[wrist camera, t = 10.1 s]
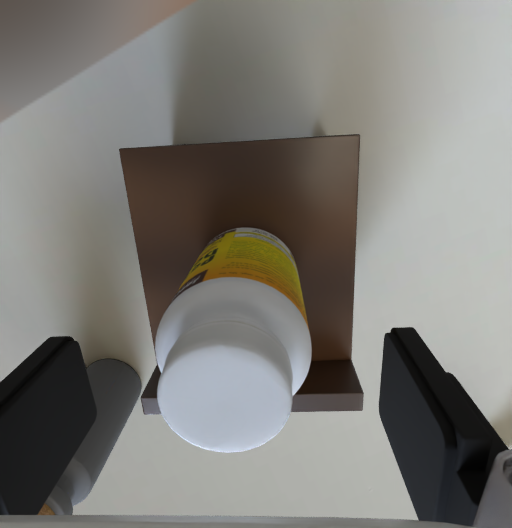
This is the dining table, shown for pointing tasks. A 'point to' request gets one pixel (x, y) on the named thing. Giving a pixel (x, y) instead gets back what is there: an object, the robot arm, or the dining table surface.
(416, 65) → the dining table surface
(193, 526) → the robot arm
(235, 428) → the supplement bottle
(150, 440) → the dining table surface
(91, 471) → the bottle
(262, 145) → the shelf
